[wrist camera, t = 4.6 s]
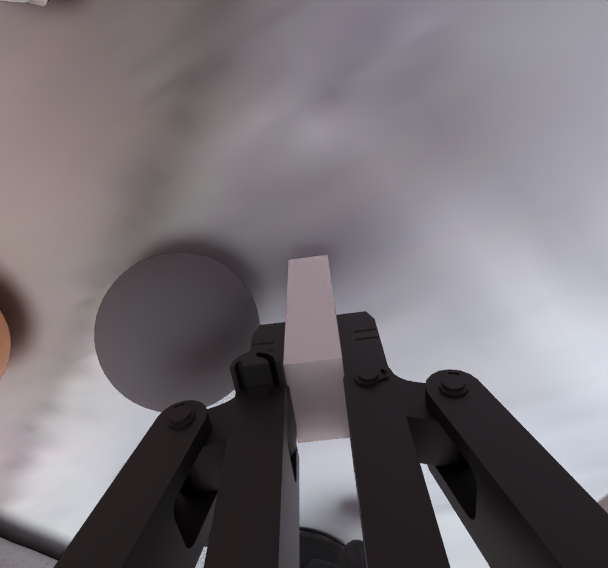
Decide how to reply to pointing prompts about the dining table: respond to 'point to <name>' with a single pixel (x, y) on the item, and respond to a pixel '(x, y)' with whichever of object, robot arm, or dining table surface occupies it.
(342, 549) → the milk frother
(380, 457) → the robot arm
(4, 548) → the ceramic mug
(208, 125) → the dining table surface
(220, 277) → the dark gray ball
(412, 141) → the dining table surface
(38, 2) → the egg carton
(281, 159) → the dining table surface
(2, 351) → the terracotta ball
